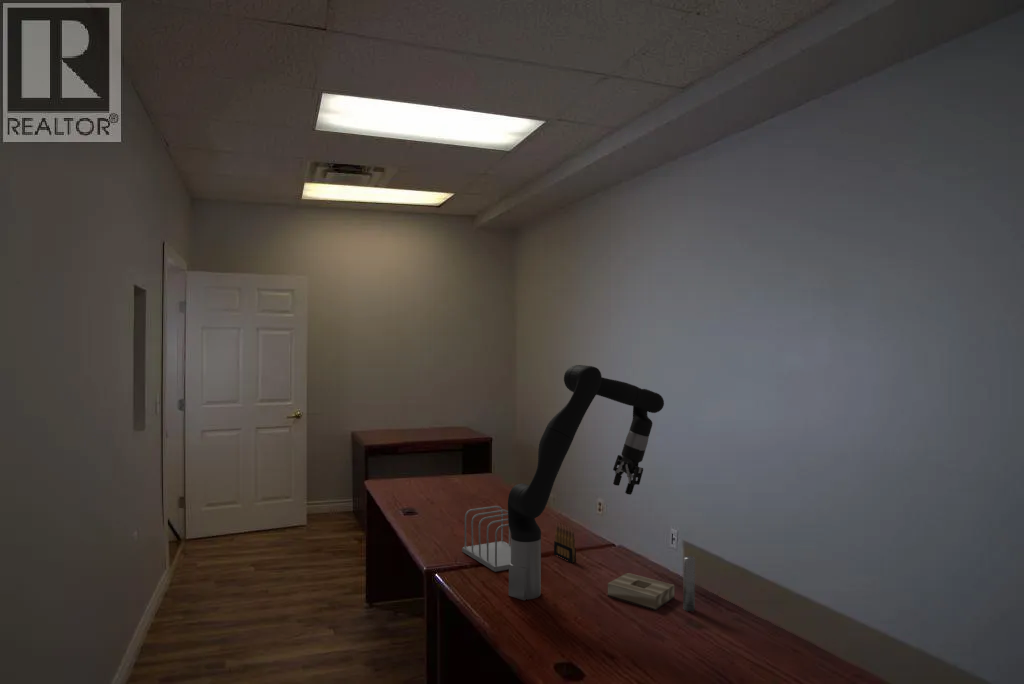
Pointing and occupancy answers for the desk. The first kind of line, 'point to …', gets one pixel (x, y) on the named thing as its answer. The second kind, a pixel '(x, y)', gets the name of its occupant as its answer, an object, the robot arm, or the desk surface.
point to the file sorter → (490, 544)
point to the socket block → (641, 591)
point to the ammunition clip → (565, 543)
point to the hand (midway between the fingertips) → (621, 489)
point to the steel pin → (689, 584)
